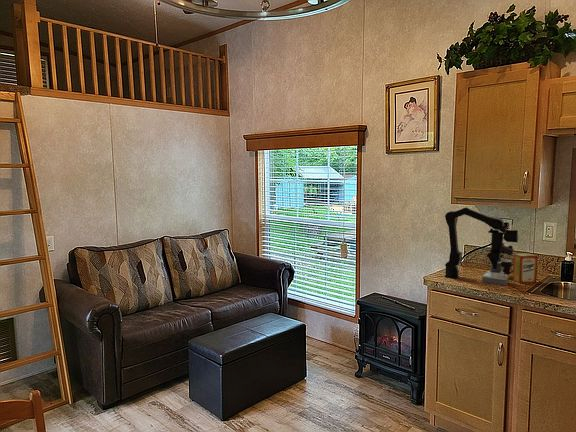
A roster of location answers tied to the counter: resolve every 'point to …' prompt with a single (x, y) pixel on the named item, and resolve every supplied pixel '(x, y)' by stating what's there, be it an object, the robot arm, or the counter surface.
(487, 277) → the octagonal ring tray
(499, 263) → the lens
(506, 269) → the coffee mug
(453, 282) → the counter surface
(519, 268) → the baking soda box
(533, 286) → the counter surface
